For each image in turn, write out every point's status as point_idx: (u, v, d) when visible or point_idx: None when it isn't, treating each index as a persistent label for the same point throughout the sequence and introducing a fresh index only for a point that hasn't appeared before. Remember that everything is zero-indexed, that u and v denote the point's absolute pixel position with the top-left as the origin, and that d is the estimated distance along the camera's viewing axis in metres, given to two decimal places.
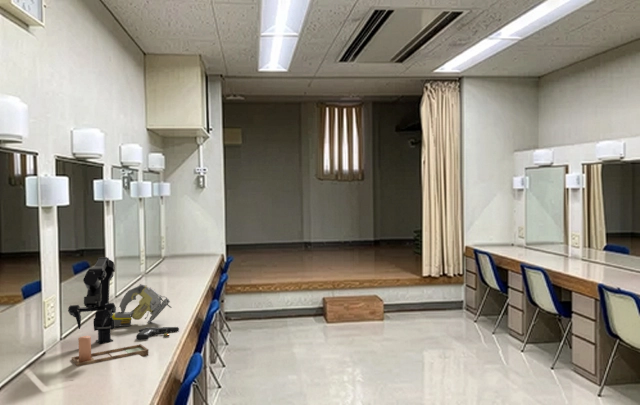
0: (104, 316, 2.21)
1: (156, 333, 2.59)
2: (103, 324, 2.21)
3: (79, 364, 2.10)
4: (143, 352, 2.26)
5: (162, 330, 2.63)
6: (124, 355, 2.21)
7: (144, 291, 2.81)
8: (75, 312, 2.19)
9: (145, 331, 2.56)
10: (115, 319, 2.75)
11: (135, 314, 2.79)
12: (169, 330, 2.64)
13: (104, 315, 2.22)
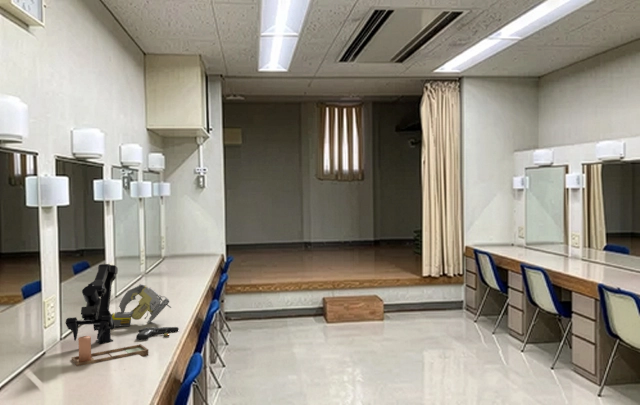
0: (100, 328, 2.21)
1: (156, 333, 2.59)
2: (99, 336, 2.20)
3: (79, 364, 2.10)
4: (143, 352, 2.26)
5: (162, 330, 2.63)
6: (124, 355, 2.21)
7: (144, 291, 2.81)
8: (72, 323, 2.20)
9: (145, 331, 2.56)
10: (115, 319, 2.75)
11: (135, 314, 2.79)
12: (169, 330, 2.64)
13: (100, 327, 2.22)
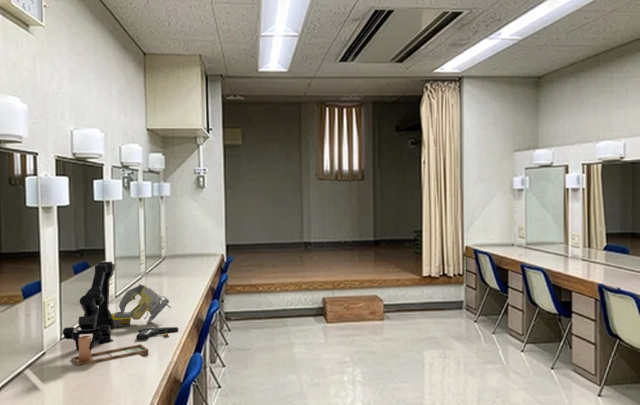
0: (93, 338, 2.17)
1: (156, 333, 2.59)
2: (92, 346, 2.16)
3: (79, 364, 2.10)
4: (143, 352, 2.26)
5: (162, 330, 2.63)
6: (124, 355, 2.21)
7: (143, 291, 2.81)
8: (74, 333, 2.16)
9: (145, 331, 2.56)
10: (114, 319, 2.75)
11: (134, 314, 2.79)
12: (169, 330, 2.64)
13: (93, 337, 2.17)
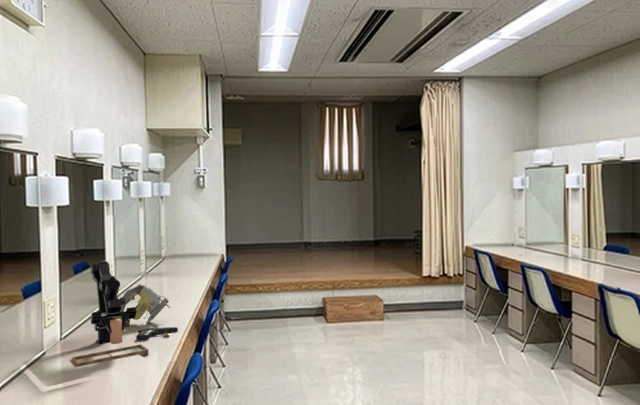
0: (123, 320, 2.25)
1: (156, 333, 2.58)
2: (123, 328, 2.23)
3: (79, 364, 2.10)
4: (143, 352, 2.26)
5: (161, 330, 2.62)
6: (124, 355, 2.21)
7: (143, 291, 2.81)
8: (105, 317, 2.21)
9: (145, 331, 2.55)
10: None
11: None
12: (168, 330, 2.64)
13: (123, 319, 2.25)
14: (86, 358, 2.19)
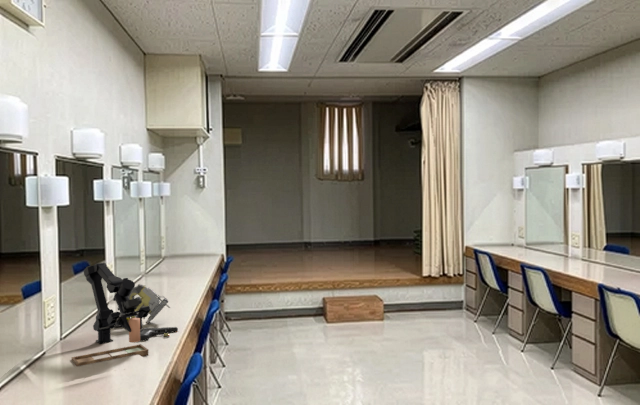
0: (140, 319, 2.32)
1: (156, 333, 2.58)
2: (141, 326, 2.31)
3: (79, 364, 2.10)
4: (143, 352, 2.26)
5: (161, 330, 2.62)
6: (124, 355, 2.21)
7: (143, 291, 2.81)
8: (123, 316, 2.26)
9: (145, 332, 2.55)
10: None
11: None
12: (168, 330, 2.64)
13: (140, 318, 2.32)
14: (86, 358, 2.19)
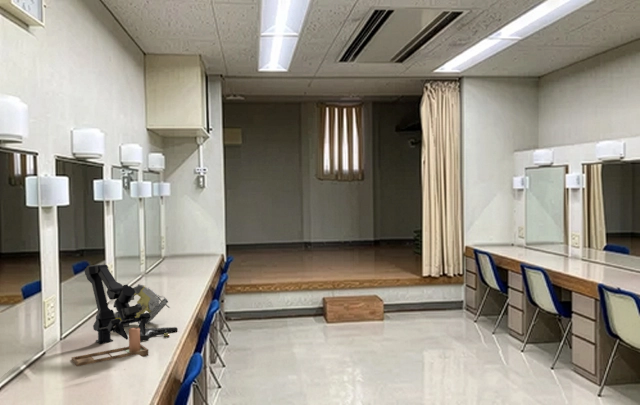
0: (144, 325, 2.33)
1: (155, 334, 2.58)
2: None
3: (79, 364, 2.10)
4: (143, 352, 2.26)
5: (161, 330, 2.62)
6: (124, 355, 2.21)
7: (142, 291, 2.81)
8: (120, 324, 2.25)
9: None
10: None
11: None
12: (168, 330, 2.64)
13: (143, 324, 2.33)
14: (86, 358, 2.19)
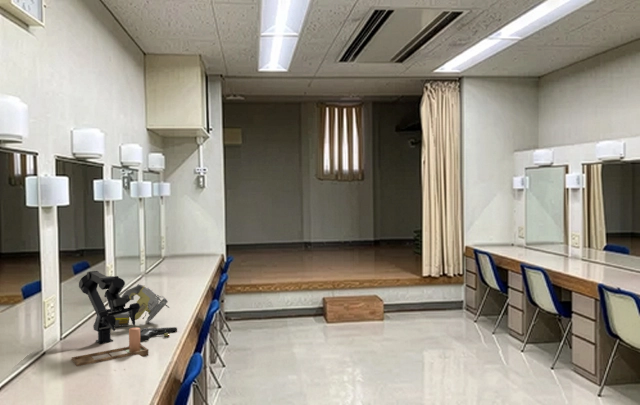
0: (133, 315, 2.38)
1: (155, 334, 2.58)
2: (134, 322, 2.37)
3: (79, 364, 2.10)
4: (143, 352, 2.26)
5: (161, 331, 2.62)
6: (124, 355, 2.21)
7: (142, 291, 2.81)
8: (107, 316, 2.31)
9: (145, 332, 2.54)
10: None
11: None
12: (168, 330, 2.64)
13: (133, 314, 2.38)
14: (86, 358, 2.19)
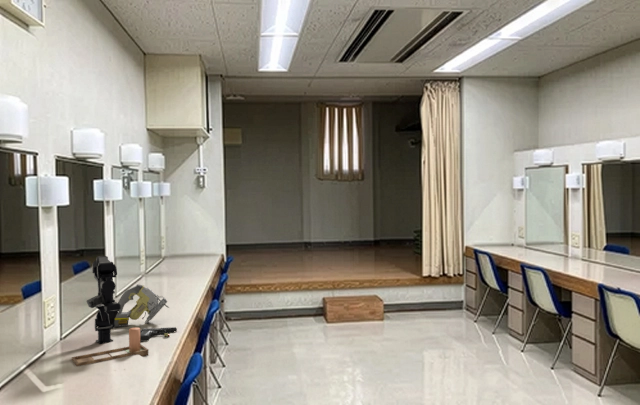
0: (108, 315, 2.30)
1: (155, 334, 2.57)
2: (110, 322, 2.31)
3: (79, 364, 2.10)
4: (143, 352, 2.26)
5: (160, 331, 2.62)
6: (124, 355, 2.21)
7: (141, 291, 2.81)
8: (96, 307, 2.37)
9: (145, 332, 2.54)
10: None
11: (132, 314, 2.79)
12: (167, 331, 2.64)
13: (108, 315, 2.30)
14: (86, 358, 2.19)
